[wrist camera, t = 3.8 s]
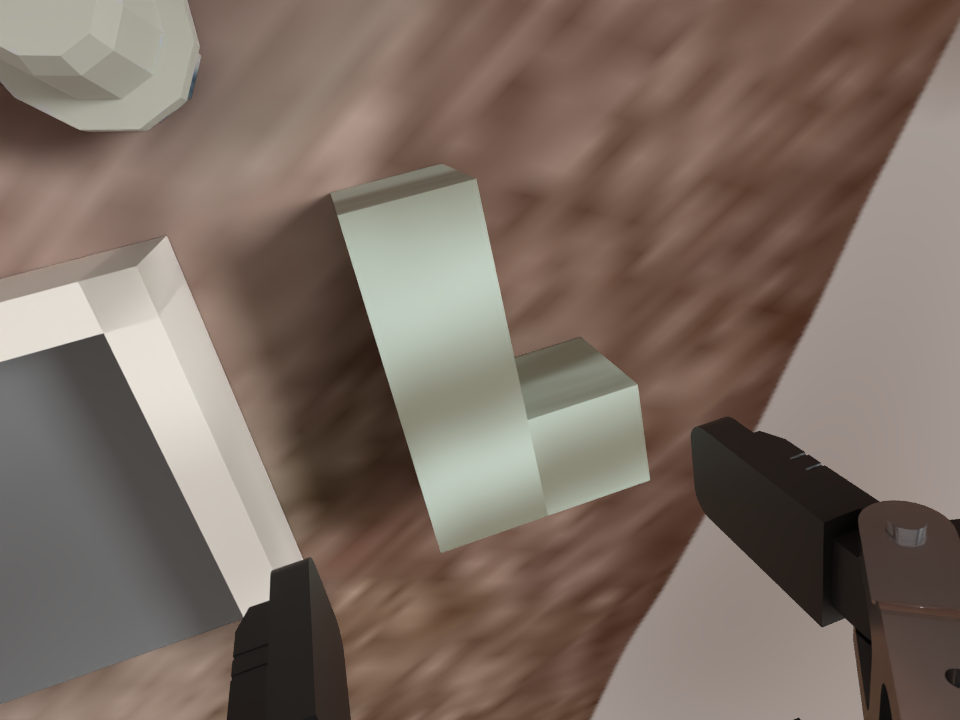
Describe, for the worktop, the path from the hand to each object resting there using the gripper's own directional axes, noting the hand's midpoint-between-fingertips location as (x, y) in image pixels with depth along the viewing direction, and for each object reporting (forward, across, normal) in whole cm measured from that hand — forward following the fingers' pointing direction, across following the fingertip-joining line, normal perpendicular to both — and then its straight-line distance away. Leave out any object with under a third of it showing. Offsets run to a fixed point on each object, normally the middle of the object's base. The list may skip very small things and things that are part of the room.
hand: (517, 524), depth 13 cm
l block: (+13, -3, 0) cm, 13 cm away
